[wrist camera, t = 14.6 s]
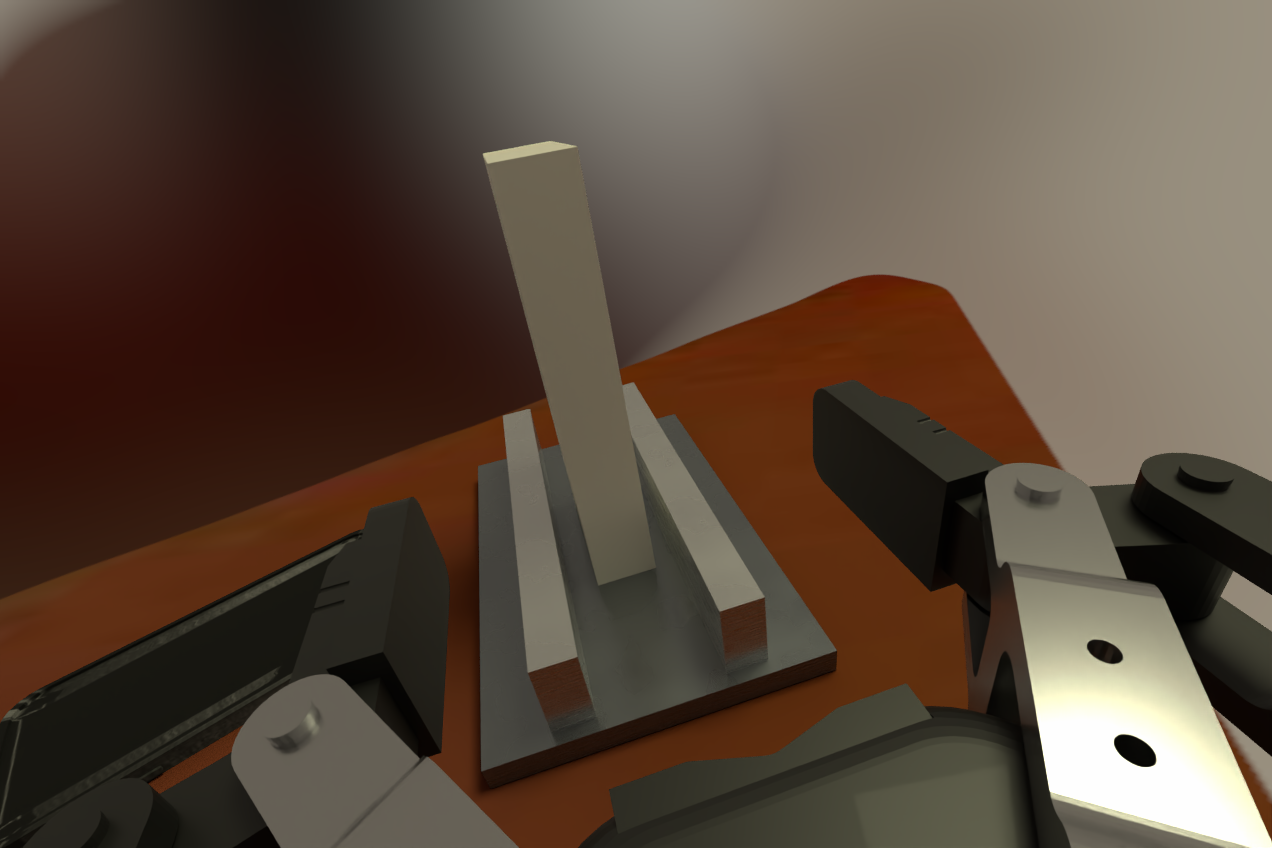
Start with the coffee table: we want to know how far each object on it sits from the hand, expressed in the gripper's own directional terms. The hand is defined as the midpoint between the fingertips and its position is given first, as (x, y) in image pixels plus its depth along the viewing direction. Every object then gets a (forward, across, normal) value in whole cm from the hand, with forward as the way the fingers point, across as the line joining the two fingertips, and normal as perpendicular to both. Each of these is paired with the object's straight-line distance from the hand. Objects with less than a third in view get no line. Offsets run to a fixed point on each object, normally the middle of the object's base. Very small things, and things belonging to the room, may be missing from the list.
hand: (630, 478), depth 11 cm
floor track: (+11, 0, +12) cm, 16 cm away
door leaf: (+11, 0, +10) cm, 15 cm away
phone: (+11, +17, +12) cm, 24 cm away
